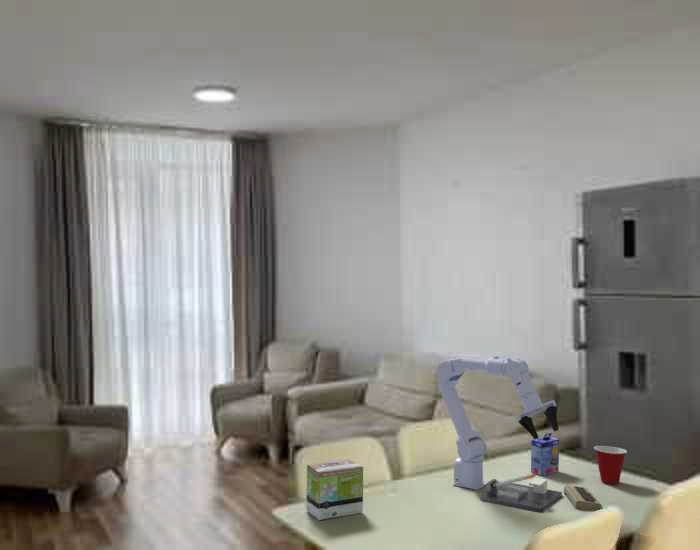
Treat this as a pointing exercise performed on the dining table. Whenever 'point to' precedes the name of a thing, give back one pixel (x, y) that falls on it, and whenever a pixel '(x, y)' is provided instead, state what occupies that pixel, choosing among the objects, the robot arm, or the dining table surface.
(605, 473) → the plastic cup
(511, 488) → the base
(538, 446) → the ink cartridge box
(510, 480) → the grey flat bar
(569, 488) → the computer
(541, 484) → the block
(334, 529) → the dining table surface
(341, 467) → the tea box
